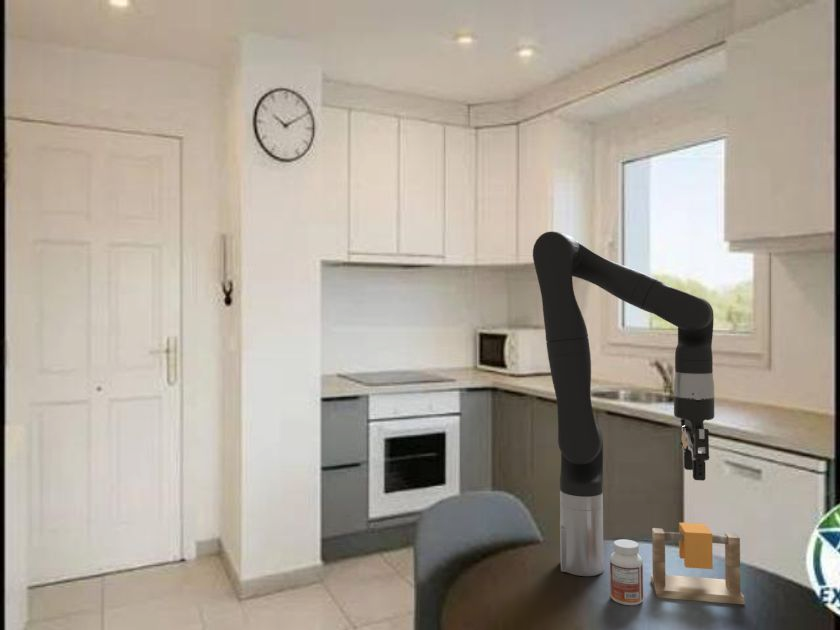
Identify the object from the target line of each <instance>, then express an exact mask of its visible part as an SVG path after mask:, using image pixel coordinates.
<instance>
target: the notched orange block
mask: <svg viewBox="0 0 840 630" xmlns="http://www.w3.org/2000/svg"><path fill="white" fill-rule="evenodd" d="M678 533H682V534H683V535H684V541H678V545H679V546H678V549H679V558H680V559H682V560H683V561H684V562H683V563H684V567H685V568H687V569H702V570H703V569H704V570H714V569H713V543H712V535H713V533H712V532H711V530H710V529H709V528H708V526H707V525H706V524H705V523H694V522H678Z"/></svg>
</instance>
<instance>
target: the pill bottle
mask: <svg viewBox="0 0 840 630" xmlns="http://www.w3.org/2000/svg"><path fill="white" fill-rule="evenodd" d="M639 547H640V546H639V543H638V542H637V541H635V540H631V539H617V540H614V541H613V550H614V551H613V552H612V553H611V555H610V558H609V569H610V570H609V572H610V573H609V574H610V577H609V578H610V580H609V581H610V582H609V584H610V597H611V600H613V601H614V602H616V603H618V604H620V605H625V606H637V605H639V604H641V603H642V602H643V600H644V575H643V574H644V573H643V572H644V567H643V566H644V565H643V559H642V557H641V555H639Z"/></svg>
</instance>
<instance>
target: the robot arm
mask: <svg viewBox="0 0 840 630" xmlns="http://www.w3.org/2000/svg"><path fill="white" fill-rule="evenodd" d="M532 260H533V265H534V267H535V268H534V270H535V273H536V276H537V281H538V285H539V290H540V295H541V303H542V313H543V323H544V331H545V341H546V343H545V344H546V350H547V351H546V352H547V358H548V362H549V363H548V365H549V369H550V375H551V379H552V384H553V388H554V389H553V390H554V395H555V398H556V404H557V405H556V406H557V436H558V437H557V443H558V448H559V450H560V452H561V453H560V457H561V458H560V460H561V463H560V475H559V490H560V491H559V499H560V500H559V505H560V506H559V507H560V508H559V513H560V514H559V515H560V518H559V531H560V532H559V533H560V534H559V535H560V537H559V538H560V541H559V542H560V545H559V546H560V572H561V573H562V572H563V573H568V574H571V575H574V576H579V577H580V576H582V577H594V576H598V575H601V574H602V573H603V572H604V562H605V561H604V506H603V503H604V500H603V499H604V496H603V495H604V493H603V492H604V491H603V490H604V489H603V486H604V485H603V483H604V481H603V480H604V442H603V441H604V438H603V433H602V430H601V428H600V426H599V425H598V423H596V419H595V415H594V410H593V404H592V396H591V391H592V390H591V389H592V388H591V384H592V360H591V359H592V358H591V356H592V355H591V348H590V341H589V333H588V328H587V324H586V322H585V319H584V316H583V313H582V311H581V309H580V306H579V303H578V301H577V298H576V295H575V291H574V284H573V278H574V277H575V278H577V279H581V280H584V281H587V282H589V283H591V284H593V285H596V286H598V287H599V288H600V289H603V290H604V291H605V292H608V293H609V294H610V295H612V296H614V297H615V298H618V299H620V300H622V301H624V302H626V303H628V304H629V305H631V306H633V307H636V308H638V309H640V310H642V311H645V312H648V313H650V314H653V315H656V316H657V317H658V318H661V319H662V320H664V321H666V322H668V323H670V324H671V325H673V326H676V327H677V345H676V347H675V352H674V353H675V354H674V371H675V373H674V379H673V415H674V417H675V418H677V419H680V446H681V448H682V451H683V468H684V469H685V470H686V471H692V479H693V480H695V481H705V480H706V462H707V461H709V459H710V442H709V441H710V439H709V436H710V431H709V429H708V428H705V427H704V422H705V421H711V420H713V419H714V418H715V382H714V374H713V373H714V370H713V369H714V368H713V364H714V363H713V362H714V361H713V349H712V344H713V337H714V318H715V317H714V309H713V306H712V305H711V304H710V302H709V301H708V300H706V299H704V298H702V297H698V296H696V295H693V294H690V293H688V292H685V291H683V290H680V289H678V288H674V287H672V286H670V285H669V284H667V283H665V282H664V281H662V280H660V279H657V278H656V277H653V276H652V275H651V276H650V275H648V274H646V273H644V272H641V271H639V270H636V269H633V268H631V267H629V266H626V265H623V264H620V263H617V262H614V261H612V260H610V259H608V258H605V257H603V256H601V255H599V254H598V253H596V252H594V251H593V250H591V249H589V248H588V247H586V246H585V245H584V244H582V243H580V242H579V241H577V240H576V239H574V238H573V236H571V235H569V234H566V233H562V232H560V231H559V232H558V231H547V232H544V233H542V234H541V235H539V236H538V238H537V239H536V240H535V243H534V244H533V249H532ZM700 452H701V453H700Z"/></svg>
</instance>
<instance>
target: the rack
mask: <svg viewBox="0 0 840 630" xmlns="http://www.w3.org/2000/svg"><path fill="white" fill-rule="evenodd" d="M651 529H652V531H651V534H652V535H651V537H652V538H651V539H652V545H651V546H652V548H651V549H652V551H651V552H652V573H650V582H651V584H652V587H653V590H654V592H655V595H656V598H659V599H671V600H672V599H673V600H685V601H686V600H687V601H696V602H710V603H720V604H722V603H723V604H733V605H734V604H735V605H745V596H744V594H743V593H742V590H741V543H740V542H741V538H740V536H739V535H738V534H737V533H736V532H726V531H725V532H724V535H722V534H712V544H719V545H720V544H722V545H723V544H724V557H725V558H724V566H725V567H724V568H725V569H724V570H725V573H724V574H725V577H724V579H723V578H712V577H711V578H710V577H699V576H683V575H672V574H666V541H673V542H675V541H676V542H679V541H684V535H683V534H682V533H679V532H676V531H675V532H672V531H665V530H664V529H663V528H657V527H653V528H651Z"/></svg>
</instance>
